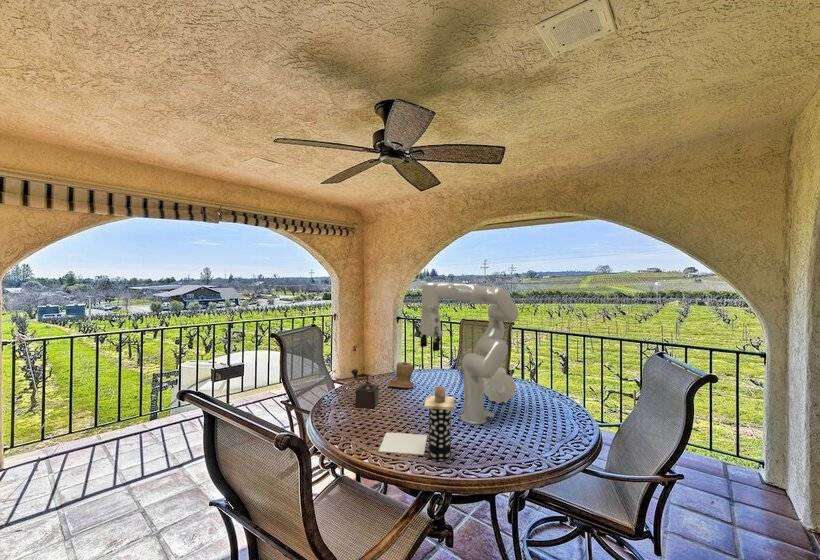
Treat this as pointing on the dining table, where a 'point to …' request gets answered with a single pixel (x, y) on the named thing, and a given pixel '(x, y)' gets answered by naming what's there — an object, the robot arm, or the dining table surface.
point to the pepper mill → (366, 393)
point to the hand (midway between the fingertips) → (429, 348)
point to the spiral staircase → (499, 386)
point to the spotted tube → (439, 434)
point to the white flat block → (403, 443)
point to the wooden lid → (439, 400)
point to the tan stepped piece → (402, 376)
